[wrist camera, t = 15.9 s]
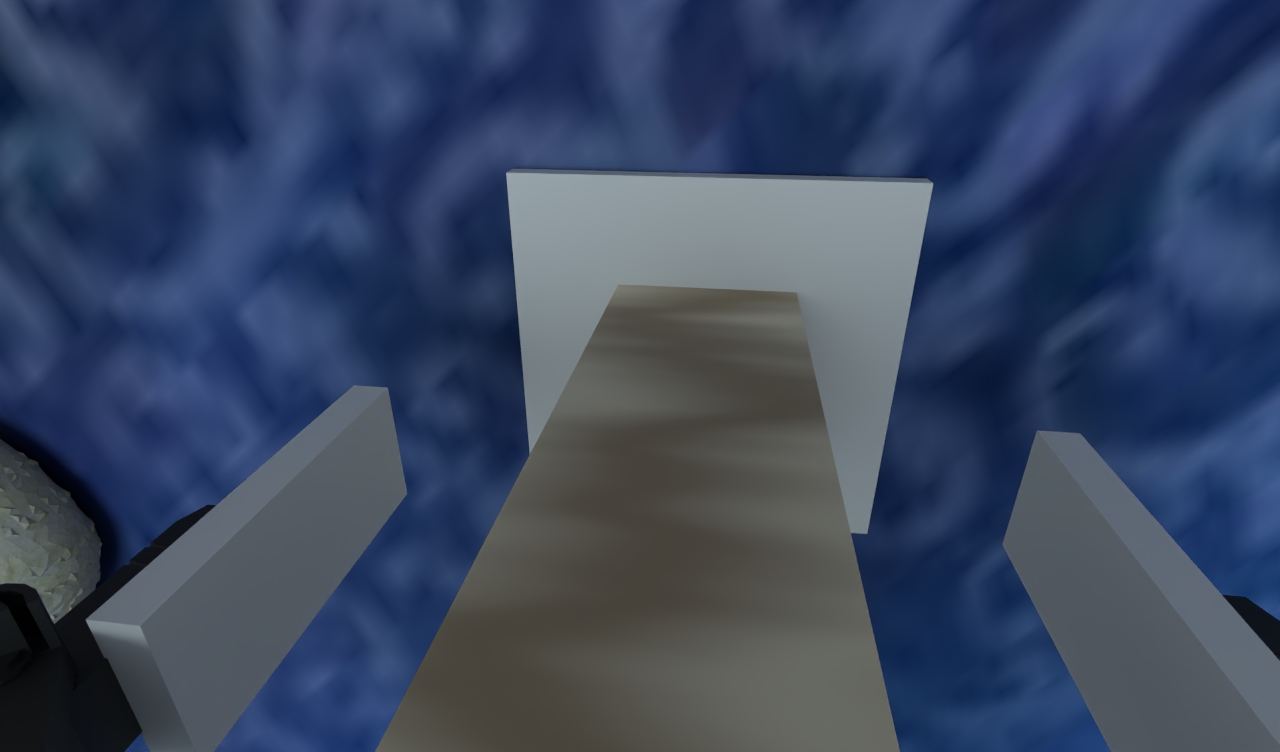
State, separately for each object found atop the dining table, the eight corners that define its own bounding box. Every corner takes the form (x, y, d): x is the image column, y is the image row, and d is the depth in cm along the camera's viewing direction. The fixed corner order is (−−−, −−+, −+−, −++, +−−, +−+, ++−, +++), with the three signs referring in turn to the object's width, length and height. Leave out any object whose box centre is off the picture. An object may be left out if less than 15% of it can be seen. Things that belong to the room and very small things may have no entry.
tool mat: (863, 521, 20) (867, 533, 20) (539, 494, 21) (534, 505, 21) (926, 178, 16) (933, 183, 15) (513, 168, 17) (506, 172, 16)
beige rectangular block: (796, 292, 17) (919, 841, 5) (779, 446, 19) (842, 1093, 7) (618, 284, 17) (367, 764, 6) (620, 434, 19) (438, 1017, 8)
